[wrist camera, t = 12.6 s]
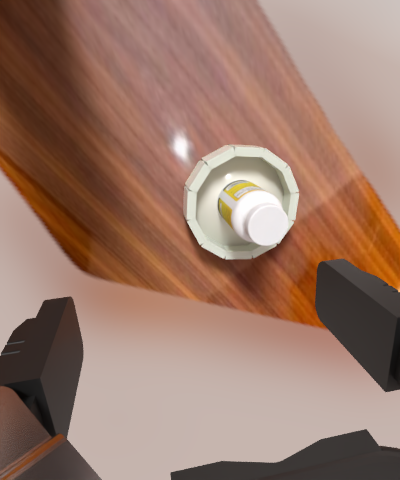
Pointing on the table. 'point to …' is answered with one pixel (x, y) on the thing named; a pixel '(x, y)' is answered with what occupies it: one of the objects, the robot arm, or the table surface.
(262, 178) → the sage bowl
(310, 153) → the table surface
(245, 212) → the supplement bottle
